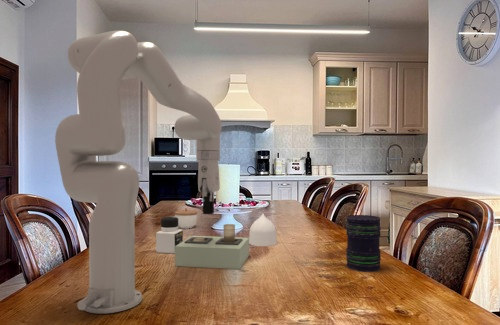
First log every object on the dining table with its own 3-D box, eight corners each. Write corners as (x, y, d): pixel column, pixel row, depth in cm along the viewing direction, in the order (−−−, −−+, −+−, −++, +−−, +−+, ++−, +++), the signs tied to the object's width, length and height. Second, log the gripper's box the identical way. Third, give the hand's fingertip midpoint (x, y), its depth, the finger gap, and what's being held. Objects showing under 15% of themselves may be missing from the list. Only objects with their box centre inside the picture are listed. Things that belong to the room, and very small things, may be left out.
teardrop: (266, 239, 150) (266, 209, 150) (282, 244, 141) (282, 212, 141) (243, 242, 144) (243, 211, 144) (259, 247, 135) (259, 215, 135)
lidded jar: (201, 227, 178) (201, 207, 178) (186, 230, 168) (186, 210, 168) (185, 225, 183) (185, 206, 183) (169, 228, 174) (169, 208, 174)
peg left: (202, 261, 116) (202, 240, 116) (191, 260, 116) (191, 240, 116) (206, 258, 119) (205, 238, 119) (195, 257, 120) (195, 237, 120)
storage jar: (357, 273, 103) (357, 220, 103) (339, 264, 112) (339, 215, 112) (388, 270, 106) (387, 219, 106) (368, 261, 115) (368, 214, 115)
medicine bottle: (175, 253, 126) (175, 218, 126) (155, 252, 127) (155, 218, 127) (183, 248, 133) (182, 215, 133) (164, 248, 134) (164, 215, 134)
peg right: (233, 246, 114) (233, 226, 114) (222, 246, 114) (222, 225, 114) (235, 244, 117) (235, 224, 117) (225, 243, 118) (225, 223, 118)
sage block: (239, 269, 107) (239, 247, 107) (175, 266, 111) (175, 244, 111) (249, 255, 123) (249, 236, 123) (192, 253, 126) (192, 234, 126)
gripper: (214, 156, 109) (214, 217, 109) (224, 156, 124) (224, 210, 124) (189, 156, 110) (190, 217, 110) (203, 156, 125) (203, 210, 125)
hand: (208, 213), depth 117 cm, fingers closed
